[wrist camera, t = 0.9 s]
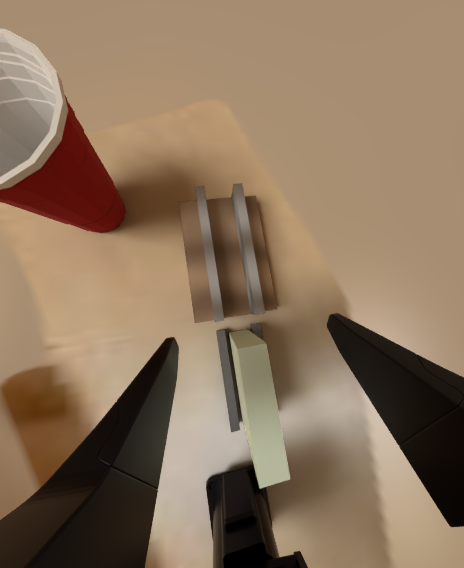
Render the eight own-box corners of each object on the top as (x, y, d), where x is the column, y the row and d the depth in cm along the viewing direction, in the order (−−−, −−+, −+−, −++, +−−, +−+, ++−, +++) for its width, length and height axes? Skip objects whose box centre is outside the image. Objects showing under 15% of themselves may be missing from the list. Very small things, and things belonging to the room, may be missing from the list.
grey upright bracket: (273, 413, 20) (277, 420, 19) (230, 424, 20) (231, 432, 19) (257, 323, 22) (260, 324, 20) (216, 330, 21) (216, 332, 20)
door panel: (260, 411, 20) (290, 479, 13) (241, 416, 20) (259, 488, 12) (247, 328, 21) (266, 343, 14) (228, 332, 21) (237, 349, 13)
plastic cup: (38, 191, 21) (-198, 39, 9) (123, 161, 22) (21, 0, 10) (73, 268, 20) (-131, 216, 8) (158, 232, 22) (92, 146, 10)
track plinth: (272, 308, 22) (285, 309, 18) (196, 321, 21) (192, 325, 17) (253, 202, 24) (261, 182, 20) (180, 208, 22) (173, 188, 18)
